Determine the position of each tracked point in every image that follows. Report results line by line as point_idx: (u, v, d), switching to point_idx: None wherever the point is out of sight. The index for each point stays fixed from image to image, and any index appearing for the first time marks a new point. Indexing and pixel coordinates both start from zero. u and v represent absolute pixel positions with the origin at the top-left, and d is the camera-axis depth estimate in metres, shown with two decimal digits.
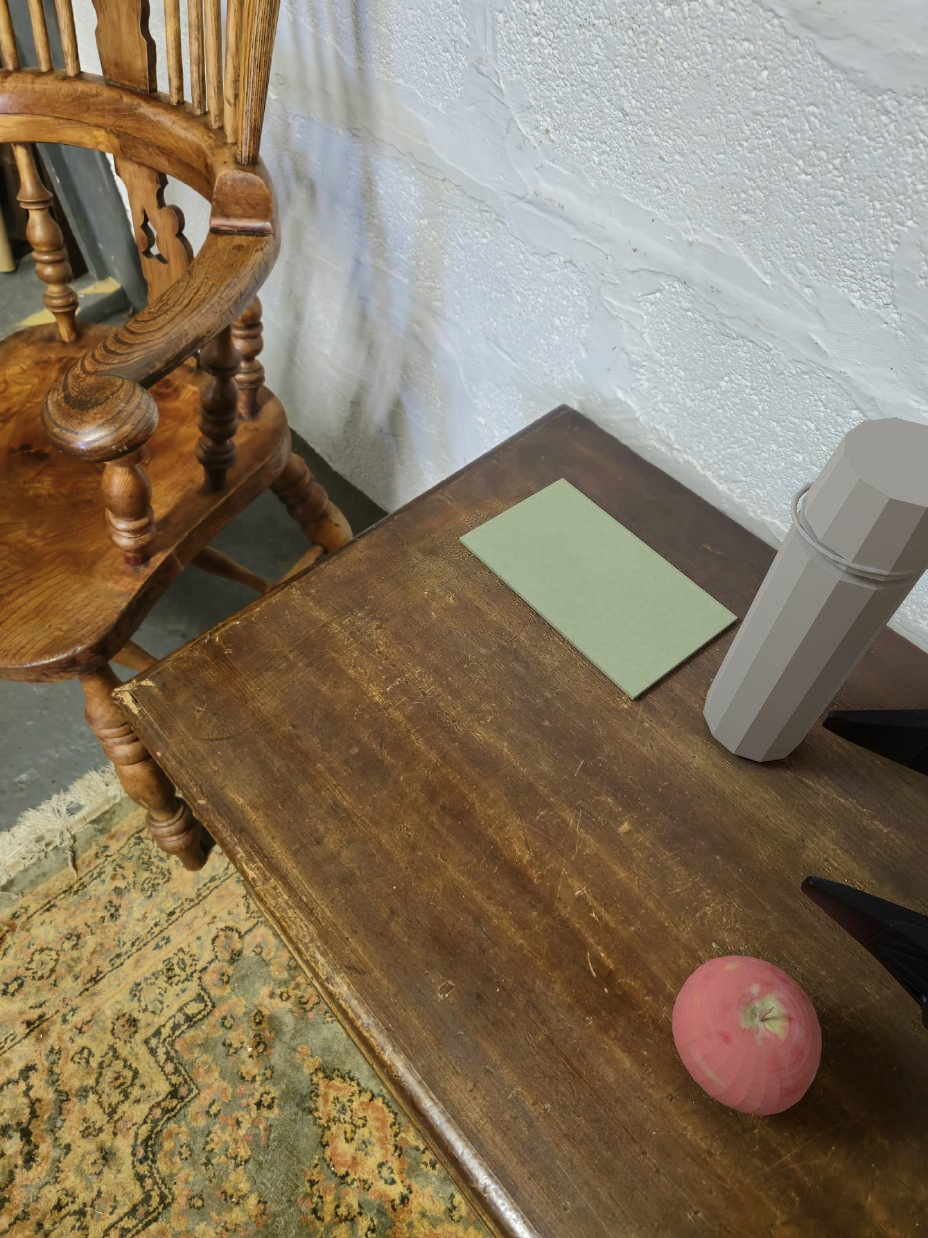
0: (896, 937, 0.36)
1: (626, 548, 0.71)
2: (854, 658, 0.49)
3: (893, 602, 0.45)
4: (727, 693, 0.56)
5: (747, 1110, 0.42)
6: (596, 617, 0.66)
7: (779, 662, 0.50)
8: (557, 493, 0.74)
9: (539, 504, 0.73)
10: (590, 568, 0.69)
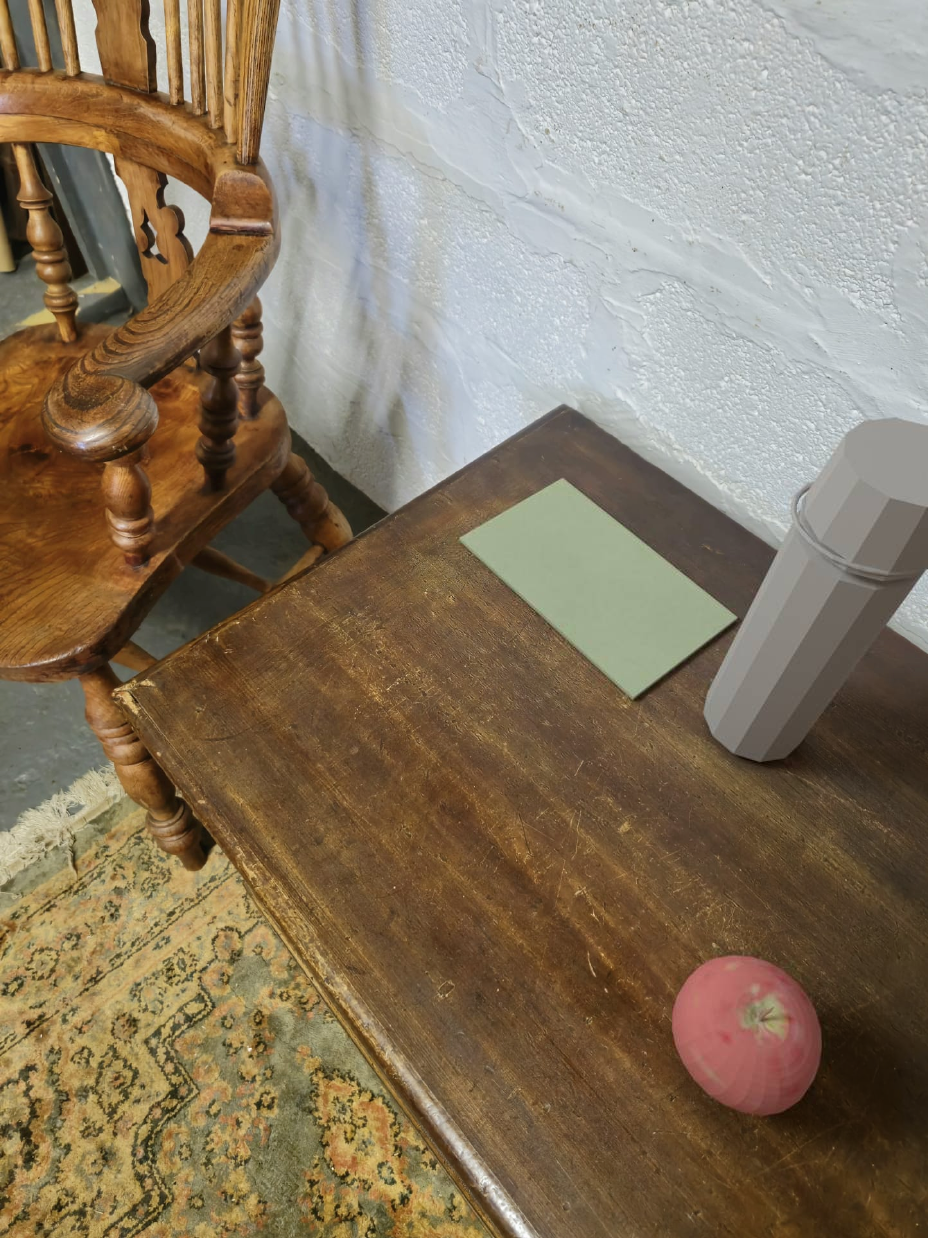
0: None
1: (626, 548, 0.71)
2: (854, 658, 0.49)
3: (893, 602, 0.45)
4: (727, 693, 0.56)
5: (747, 1110, 0.42)
6: (596, 617, 0.66)
7: (779, 662, 0.50)
8: (557, 493, 0.74)
9: (539, 504, 0.73)
10: (590, 568, 0.69)
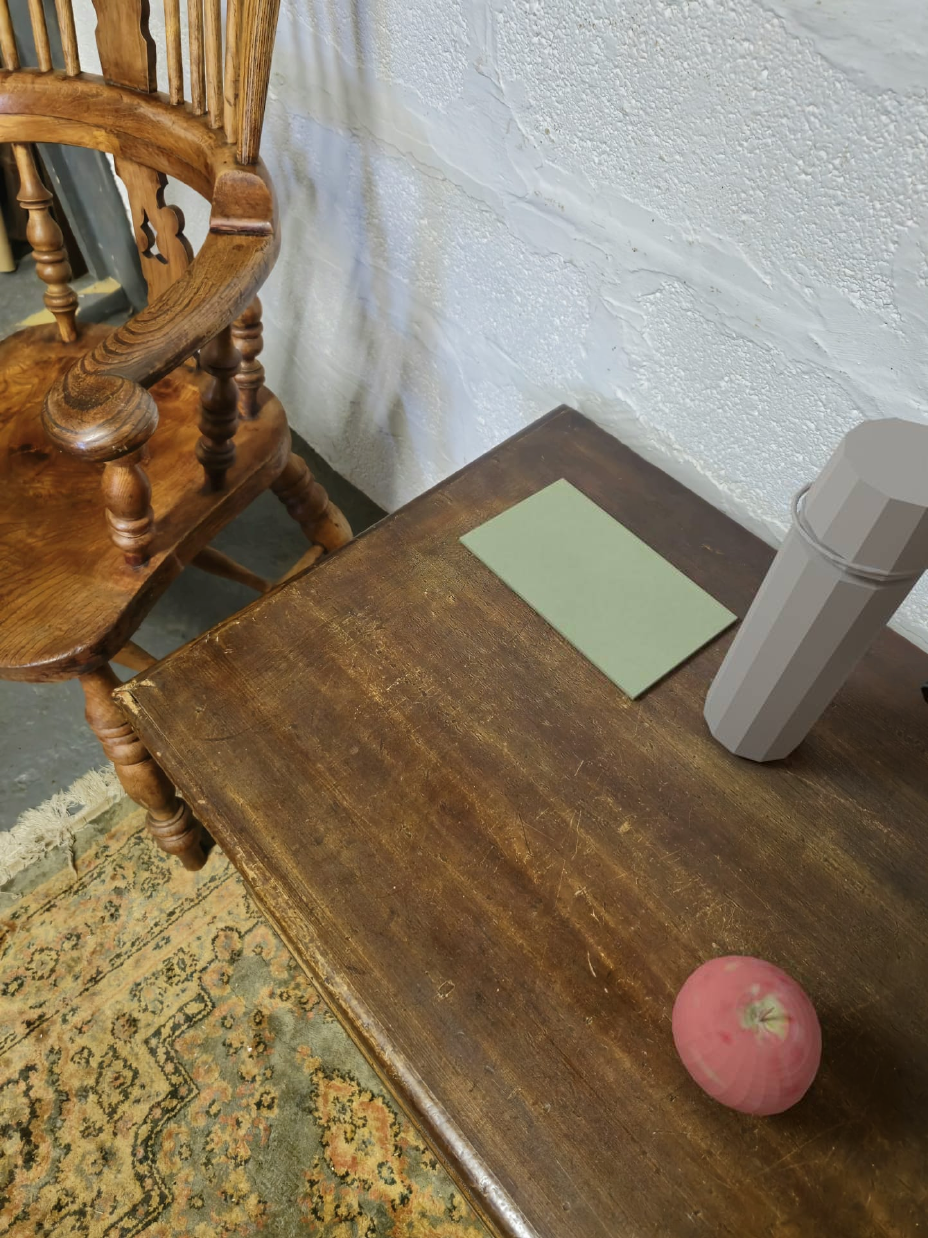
0: None
1: (626, 548, 0.71)
2: (854, 658, 0.49)
3: (893, 602, 0.45)
4: (727, 693, 0.56)
5: (747, 1110, 0.42)
6: (596, 617, 0.66)
7: (779, 662, 0.50)
8: (557, 493, 0.74)
9: (539, 504, 0.73)
10: (590, 568, 0.69)
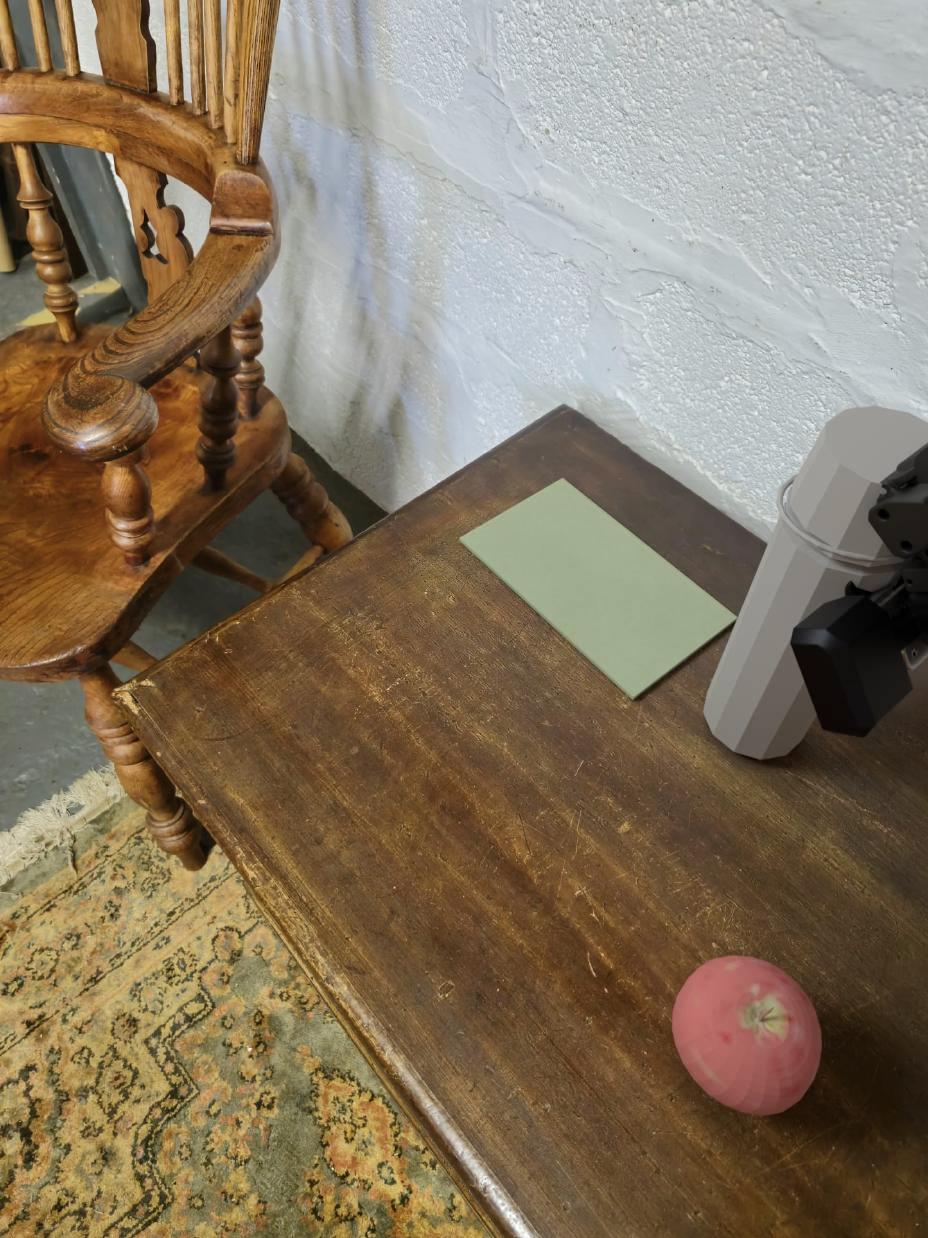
0: None
1: (626, 548, 0.71)
2: None
3: None
4: (725, 690, 0.56)
5: (747, 1110, 0.42)
6: (596, 617, 0.66)
7: (773, 655, 0.51)
8: (557, 493, 0.74)
9: (539, 504, 0.73)
10: (590, 568, 0.69)
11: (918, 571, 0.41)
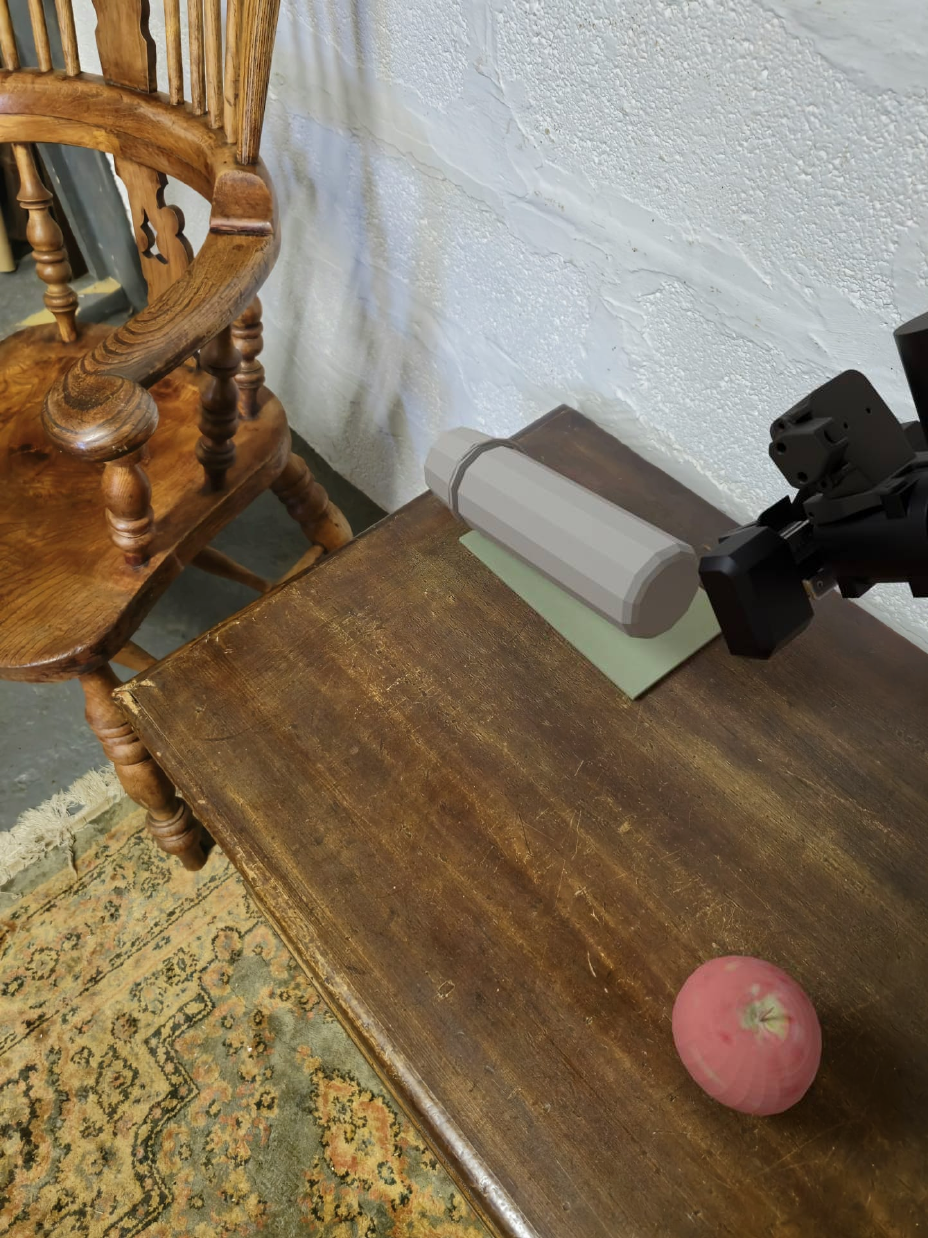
0: None
1: None
2: (517, 502, 0.61)
3: (475, 477, 0.65)
4: None
5: (747, 1110, 0.42)
6: (596, 617, 0.66)
7: (523, 557, 0.62)
8: None
9: None
10: None
11: (817, 503, 0.44)
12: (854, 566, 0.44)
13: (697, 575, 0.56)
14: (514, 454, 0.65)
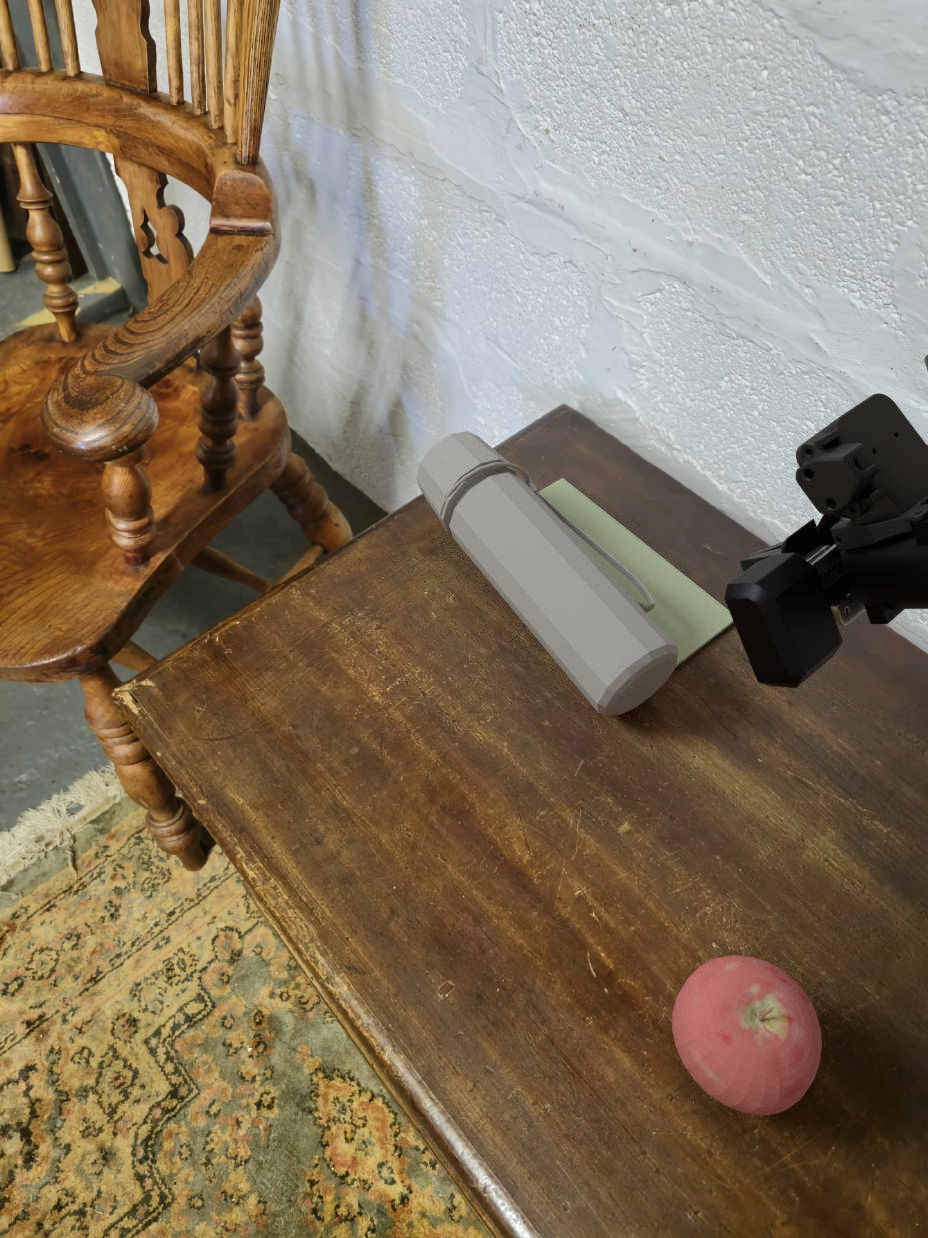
0: None
1: (626, 548, 0.71)
2: (503, 566, 0.62)
3: (464, 520, 0.64)
4: None
5: (747, 1110, 0.42)
6: None
7: None
8: (557, 493, 0.74)
9: None
10: None
11: (845, 529, 0.43)
12: (883, 592, 0.44)
13: (673, 662, 0.58)
14: (501, 492, 0.63)
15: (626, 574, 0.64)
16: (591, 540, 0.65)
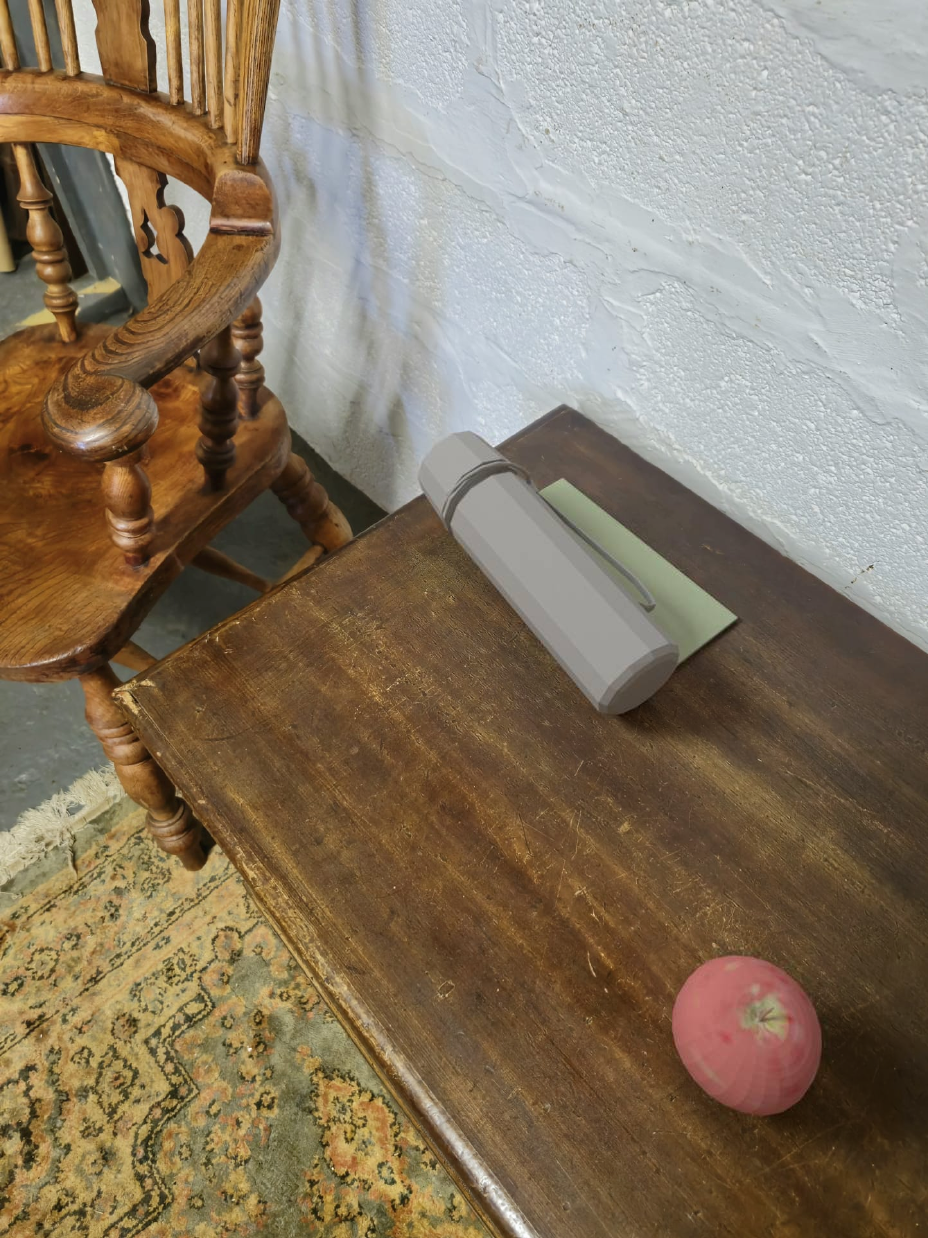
0: None
1: (626, 548, 0.71)
2: (504, 564, 0.62)
3: (465, 519, 0.64)
4: None
5: (747, 1110, 0.42)
6: None
7: None
8: (557, 493, 0.74)
9: None
10: None
11: None
12: None
13: (674, 662, 0.58)
14: (504, 491, 0.64)
15: (627, 575, 0.64)
16: (592, 540, 0.66)
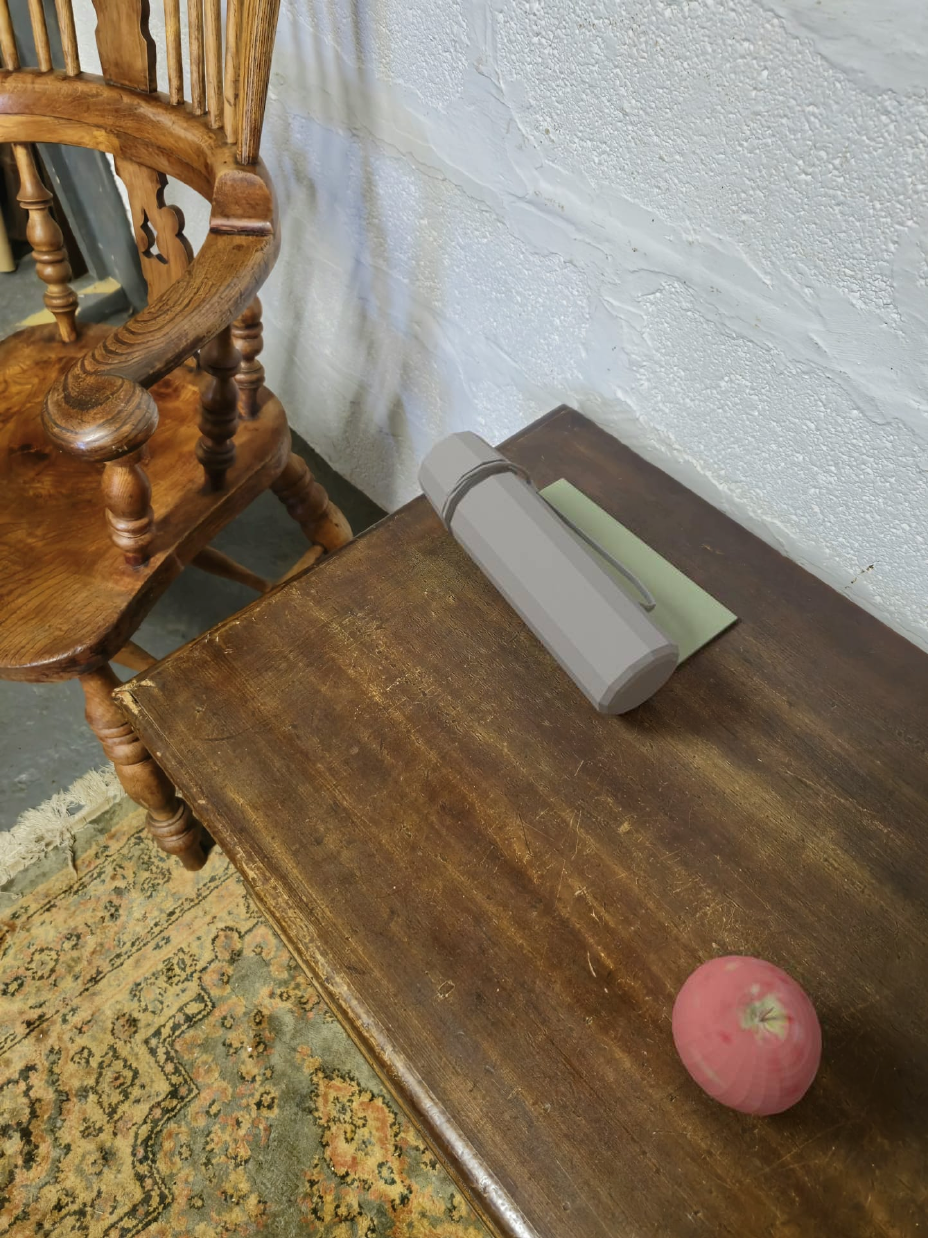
0: None
1: (626, 548, 0.71)
2: (504, 564, 0.62)
3: (465, 519, 0.64)
4: None
5: (747, 1110, 0.42)
6: None
7: None
8: (557, 493, 0.74)
9: None
10: None
11: None
12: None
13: (674, 662, 0.58)
14: (504, 491, 0.64)
15: (627, 575, 0.64)
16: (592, 540, 0.66)
